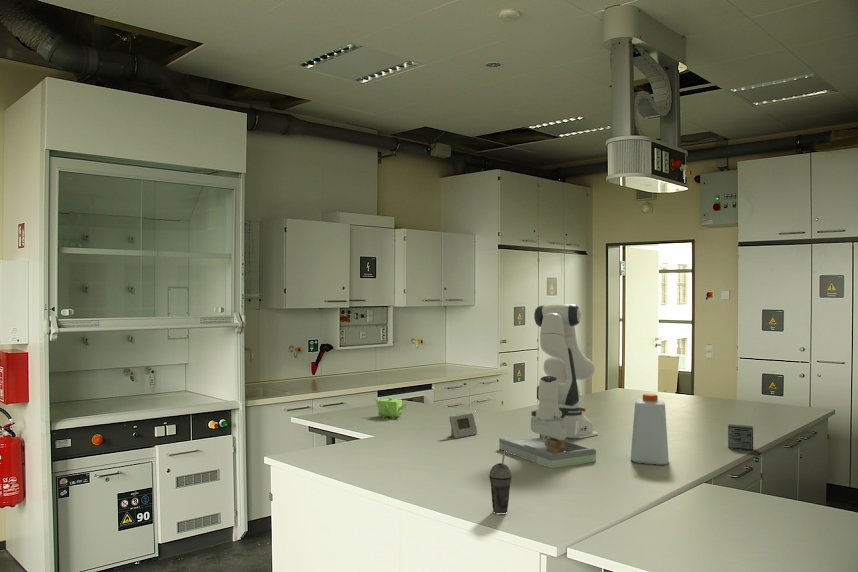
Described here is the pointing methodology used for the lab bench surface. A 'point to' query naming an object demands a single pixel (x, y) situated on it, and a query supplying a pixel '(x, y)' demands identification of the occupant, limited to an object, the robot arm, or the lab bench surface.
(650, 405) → the plastic bottle
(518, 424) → the lab bench surface
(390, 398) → the kettle
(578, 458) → the box
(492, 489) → the beverage cup
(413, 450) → the lab bench surface
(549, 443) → the walnut block
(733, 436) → the small box
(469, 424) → the digital clock
